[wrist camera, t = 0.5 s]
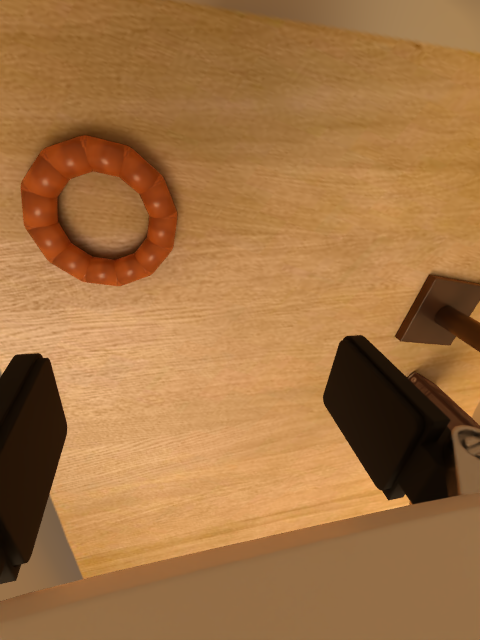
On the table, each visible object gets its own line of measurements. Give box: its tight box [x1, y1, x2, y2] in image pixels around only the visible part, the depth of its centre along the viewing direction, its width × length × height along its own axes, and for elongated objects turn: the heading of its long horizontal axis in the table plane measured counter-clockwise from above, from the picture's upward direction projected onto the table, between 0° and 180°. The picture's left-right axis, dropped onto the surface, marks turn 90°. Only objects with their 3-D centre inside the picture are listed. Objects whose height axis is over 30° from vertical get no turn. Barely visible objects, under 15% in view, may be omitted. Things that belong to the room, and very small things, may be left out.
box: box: [408, 372, 480, 431], centre depth 38 cm, size 6×4×12 cm
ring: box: [21, 135, 177, 286], centre depth 22 cm, size 10×10×2 cm
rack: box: [396, 275, 480, 352], centre depth 32 cm, size 8×8×9 cm
